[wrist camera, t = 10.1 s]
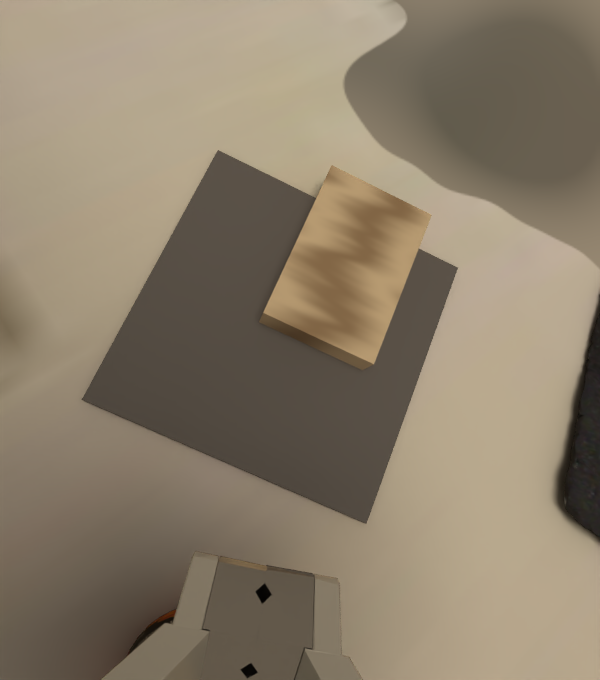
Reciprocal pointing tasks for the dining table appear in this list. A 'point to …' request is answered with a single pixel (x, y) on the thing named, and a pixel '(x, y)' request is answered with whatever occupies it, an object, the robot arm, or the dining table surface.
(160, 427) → the rubber mat
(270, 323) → the beech tile
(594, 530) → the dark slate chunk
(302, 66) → the dining table surface
